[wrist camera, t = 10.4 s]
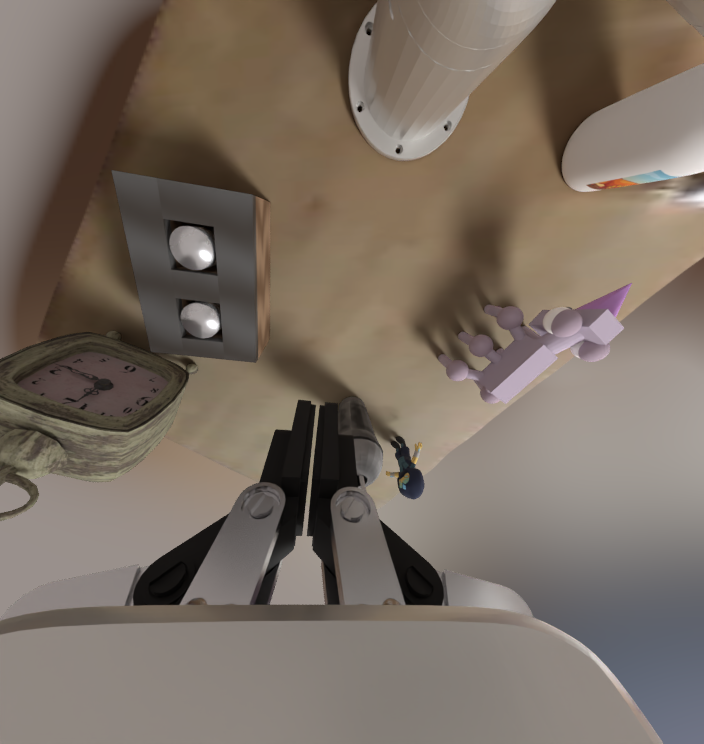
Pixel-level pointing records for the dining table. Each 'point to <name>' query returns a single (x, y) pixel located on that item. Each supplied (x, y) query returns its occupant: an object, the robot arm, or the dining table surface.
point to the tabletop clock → (83, 409)
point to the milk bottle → (641, 137)
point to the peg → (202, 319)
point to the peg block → (213, 284)
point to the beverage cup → (361, 440)
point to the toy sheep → (538, 344)
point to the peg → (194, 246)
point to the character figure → (407, 470)
